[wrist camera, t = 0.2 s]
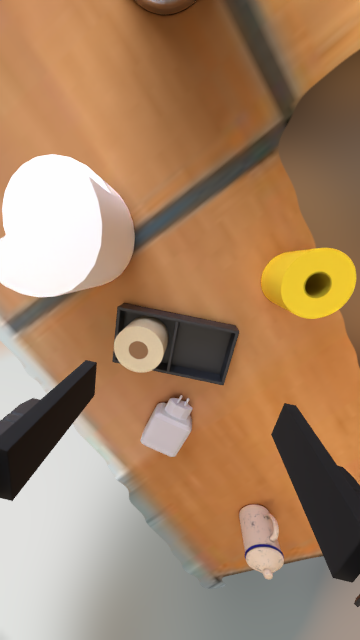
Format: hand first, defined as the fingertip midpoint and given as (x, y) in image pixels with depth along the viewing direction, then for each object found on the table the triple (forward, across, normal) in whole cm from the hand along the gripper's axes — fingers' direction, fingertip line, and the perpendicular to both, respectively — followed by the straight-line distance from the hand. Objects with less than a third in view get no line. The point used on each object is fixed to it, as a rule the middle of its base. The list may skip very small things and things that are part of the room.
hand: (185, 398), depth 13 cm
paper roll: (+28, -8, -8) cm, 30 cm away
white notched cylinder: (+28, -24, +10) cm, 38 cm away
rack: (+28, -2, -8) cm, 29 cm away
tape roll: (+28, +16, +9) cm, 34 cm away
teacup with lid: (+28, +30, -54) cm, 67 cm away
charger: (+28, 0, -27) cm, 39 cm away
